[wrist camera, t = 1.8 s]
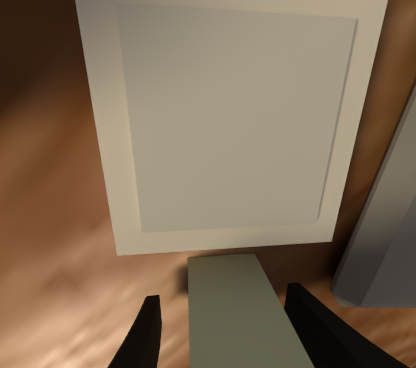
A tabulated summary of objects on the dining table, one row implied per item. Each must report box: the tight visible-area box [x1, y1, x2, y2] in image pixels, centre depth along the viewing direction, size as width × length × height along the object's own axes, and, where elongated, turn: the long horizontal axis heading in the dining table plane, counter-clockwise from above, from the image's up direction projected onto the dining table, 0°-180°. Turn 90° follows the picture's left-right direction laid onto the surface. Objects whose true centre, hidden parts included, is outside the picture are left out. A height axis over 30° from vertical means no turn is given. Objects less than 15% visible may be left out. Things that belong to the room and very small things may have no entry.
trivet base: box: [75, 0, 388, 256], centre depth 8 cm, size 10×10×2 cm
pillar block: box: [188, 253, 314, 368], centre depth 9 cm, size 4×4×6 cm
